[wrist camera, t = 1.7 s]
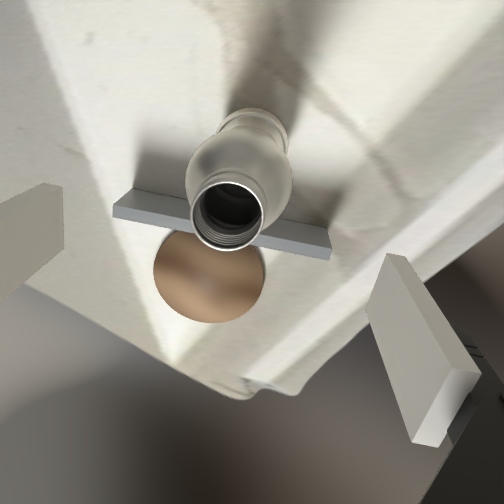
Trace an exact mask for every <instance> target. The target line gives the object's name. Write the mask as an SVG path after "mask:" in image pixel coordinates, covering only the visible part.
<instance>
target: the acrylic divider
mask: <svg viewBox="0 0 504 504" xmlns="http://www.w3.org/2000/svg"><path fill="white" fill-rule="evenodd" d="M190 209H191V207H190V205H189V202H188V200H186V199H181V198H176V197H171V196H166V195H161V194H156V193H152V192H147V191H142V190H137V189H131V190H130V191H129V192H127V193H126V194H125V195H124V196H123V197H122V198H120V199H119V200H118V201H117V202H116V203H114V204H113V217H115V218H120V219H125V220H130V221H135V222H139V223H144V224H149V225H154V226H159V227H164V228H169V229H174V230H179V231H184V232H189V233H194V234H195V232H194V230H193V228H192V225H191V221H190ZM250 245H254V246H259V247H264V248H269V249H274V250H279V251H284V252H289V253H294V254H299V255H304V256H309V257H314V258H319V259H324V260H329V258H330V255H331V252H332V246H331V242H330V239H329V235H328V232H327V228H324V227H319V226H314V225H309V224H304V223H299V222H294V221H289V220H284V219H280V218H278V219H276V220H275V221H274V222H273V223H272V224H271V225H270V226H268V227H267V228H265V229H264V230H262V231H261V232H260V234H259V235H258V237H257V238H256V239H255V240H254V241H253V242H252V243H251V244H250Z"/></svg>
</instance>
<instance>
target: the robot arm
mask: <svg viewBox="0 0 504 504" xmlns="http://www.w3.org/2000/svg"><path fill="white" fill-rule="evenodd" d="M63 249H64V222H63V187H62V186H57V185H52V184H47V183H42V184H40V185H38V186H36V187H34V188H32V189H30V190H28V191H26V192H24V193H21V194H19V195H17V196H15V197H13V198H11V199H9V200H7V201H5V202H3V203H1V204H0V302H1V301H2V300H4V299H5V298H6V297H7V296H8V295H9V294H11V293H12V292H13V291H14V290H15V289H17V288H18V287H19V286H20V285H21V284H23V283H24V282H25V281H26V280H27V279H29V278H30V277H31V276H32V275H33V274H35V273H36V272H37V271H38V270H39V269H40V268H42V267H43V266H44V265H45V264H46V263H48V262H49V261H50V260H51V259H52V258H54V257H55V256H56V255H57V254H58V253H60V252H61V251H62V250H63ZM365 310H366V313H367V316H368V318H369V321H370V324H371V327H372V330H373V332H374V336H375V339H376V341H377V344H378V347H379V350H380V353H381V356H382V359H383V361H384V364H385V367H386V370H387V373H388V376H389V379H390V382H391V384H392V387H393V390H394V393H395V396H396V399H397V402H398V405H399V407H400V411H401V413H402V416H403V419H404V422H405V425H406V428H407V431H408V434H409V436H410V439H411V442H412V443H417V444H423V445H428V446H433V447H439V445H440V444H441V442H442V440H443V439H444V437H445V435H446V434H447V432H448V435H449V437H450V439H451V441H452V443H453V447H452V448H451V450H450V451H449V453H448V455H447V456H446V458H445V460H444V461H443V463H442V465H441V466H440V468H439V469H438V471H437V473H436V475H435V477H434V478H433V480H432V482H431V483H430V485H429V487H428V488H427V490H426V492H425V493H424V495H423V497H422V499H421V500H420V502H419V503H418V504H504V384H503V383H502V381H501V380H500V379H499V377H498V376H497V374H496V373H495V371H494V370H493V369H492V367H491V366H490V364H489V363H488V361H487V360H486V359H484V356H483V354H482V353H481V351H480V350H479V349H477V348H478V347H477V346H476V344H475V343H474V341H473V340H472V339H471V337H470V336H469V335H468V334H467V333H465V332H464V331H463V330H462V329H461V328H460V327H458V326H457V325H452V324H449V323H448V321H447V320H446V318H445V317H444V315H443V313H442V312H441V310H440V309H439V307H438V306H437V304H436V303H435V301H434V300H433V298H432V297H431V295H430V294H429V292H428V290H427V289H426V288H425V286H424V285H423V283H422V281H421V280H420V278H419V277H418V275H417V274H416V272H415V271H414V269H413V268H412V266H411V265H410V263H409V261H408V260H407V258H406V257H404V256H399V255H395V254H390V253H387V254H386V256H385V259H384V262H383V264H382V267H381V269H380V272H379V275H378V277H377V280H376V283H375V285H374V288H373V290H372V293H371V296H370V298H369V301H368V303H367V306H366V309H365Z"/></svg>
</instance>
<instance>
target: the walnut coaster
mask: <svg viewBox="0 0 504 504" xmlns="http://www.w3.org/2000/svg"><path fill="white" fill-rule="evenodd" d="M153 274H154V280H155V284H156V287H157V289H158V291H159V293H160V295H161V296H162V298H163V299H164V300H165V302H166V303H167V304H168V305H169V306H170V307H171V308H172V309H174V310H175V311H176V312H178V313H179V314H181V315H183V316H185V317H187V318H189V319H192V320H195V321H199V322H205V323H221V322H227V321H230V320H233V319H236V318H238V317H240V316H241V315H243V314H245V313H246V312H247V311H248V310H250V309H251V308H252V306H253V305H254V304H255V303H256V301H257V300H258V298H259V296H260V294H261V290H262V286H263V267H262V264H261V260H260V258H259V256H258V254H257V252H256V251H255V249H254V248H253V247H252V245H248V246H246V247H244V248H242V249H239V250H235V251H220V250H216V249H213V248H211V247H209V246H207V245H206V244H204V243H203V242H202V241H201V240H200V239H199V238H198V237H197V235H196V234H194V233H189V232H184V231H177V232H175V233H174V234H172V235H171V236H170V237H169V238H168V239H167V240H166V241H165V242H164V243H163V245H162V246H161V247H160V249H159V251H158V253H157V255H156V258H155V261H154V268H153Z"/></svg>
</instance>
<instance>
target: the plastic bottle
mask: <svg viewBox="0 0 504 504" xmlns="http://www.w3.org/2000/svg"><path fill="white" fill-rule="evenodd" d="M287 152H288V138H287V134H286V131H285V128H284V127H283V125H282V123H281V122H280V121H279V120H278V118H277V117H276V116H274V115H273V114H272V113H270V112H268V111H266V110H264V109H260V108H244V109H240V110H237V111H235V112H233V113H232V114H230V115H229V116H227V117H226V118H225V119H224V121H223V122H222V123H221V124H220V126H219V127H218V129H217V132H216V134H215V135H213V136H212V137H210V138H209V139H207V140H206V141H204V142H203V143H202V144H201V145H200V146H199V147H198V149H197V150H196V151H195V153H194V154H193V156H192V157H191V159H190V162H189V164H188V167H187V171H186V177H185V188H186V194H187V198H188V202H189V205H190V207H191V209H190V221H191V225H192V228H193V230H194V232H195V234H196V235H197V237H198V238H199V239H200V240H201V241H202V242H203V243H204V244H206V245H207V246H209V247H211V248H213V249H216V250H220V251H235V250H239V249H242V248H244V247H246V246H248V245H250V244H251V243H252V242H253V241H254V240H255V239H256V238H257V237H258V235H259V234H260V232H261V231H262V230H264V229H265V228H267V227H268V226H270V225H271V224H272V223H273V222H274V221H275V220H276V219H278V217H279V216H280V215H281V214H282V212H283V211H284V210H285V208H286V206H287V204H288V202H289V199H290V195H291V192H292V182H293V179H292V171H291V167H290V164H289V162H288V159H287V157H286V156H287Z"/></svg>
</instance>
